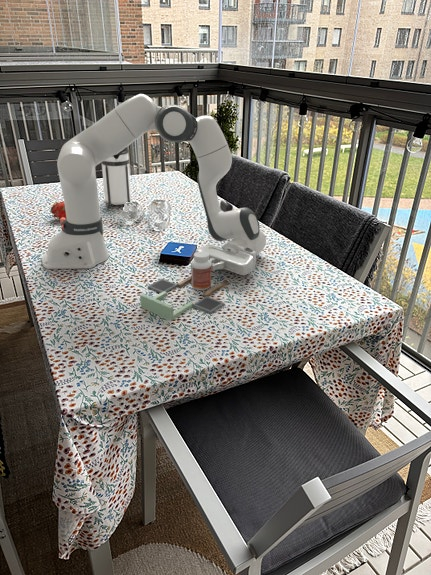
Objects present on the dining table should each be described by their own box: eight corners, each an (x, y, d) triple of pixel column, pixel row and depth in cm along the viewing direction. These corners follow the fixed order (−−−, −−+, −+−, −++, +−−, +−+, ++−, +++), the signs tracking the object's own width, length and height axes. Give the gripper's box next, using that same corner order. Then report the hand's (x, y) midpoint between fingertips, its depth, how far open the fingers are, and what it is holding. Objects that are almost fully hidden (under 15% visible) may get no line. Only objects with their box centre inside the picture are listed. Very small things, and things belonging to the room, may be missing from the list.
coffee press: (142, 202, 213) (139, 137, 199) (119, 211, 201) (113, 142, 187) (115, 196, 221) (110, 132, 207) (91, 204, 209) (84, 137, 195)
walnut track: (200, 273, 149) (200, 270, 148) (228, 283, 143) (228, 280, 142) (177, 286, 140) (176, 283, 140) (205, 298, 134) (205, 295, 134)
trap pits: (162, 280, 144) (161, 278, 143) (224, 304, 131) (224, 302, 131) (147, 287, 139) (147, 285, 139) (210, 314, 126) (210, 312, 126)
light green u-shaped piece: (164, 293, 136) (163, 282, 134) (193, 306, 130) (193, 294, 128) (140, 307, 129) (140, 295, 127) (170, 320, 123) (170, 308, 121)
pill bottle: (214, 288, 140) (215, 255, 135) (197, 292, 137) (198, 260, 132) (204, 280, 145) (204, 248, 139) (187, 284, 142) (187, 252, 136)
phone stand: (218, 234, 180) (218, 205, 174) (212, 229, 185) (213, 201, 179) (238, 231, 183) (239, 203, 177) (232, 226, 188) (233, 199, 182)
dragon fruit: (49, 223, 190) (78, 224, 195) (51, 217, 182) (81, 218, 187) (48, 204, 191) (77, 205, 196) (50, 197, 183) (80, 199, 188)
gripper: (209, 237, 155) (184, 249, 146) (260, 253, 145) (236, 267, 135) (209, 254, 158) (184, 267, 149) (258, 270, 148) (235, 285, 138)
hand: (209, 267), depth 142 cm, fingers closed
